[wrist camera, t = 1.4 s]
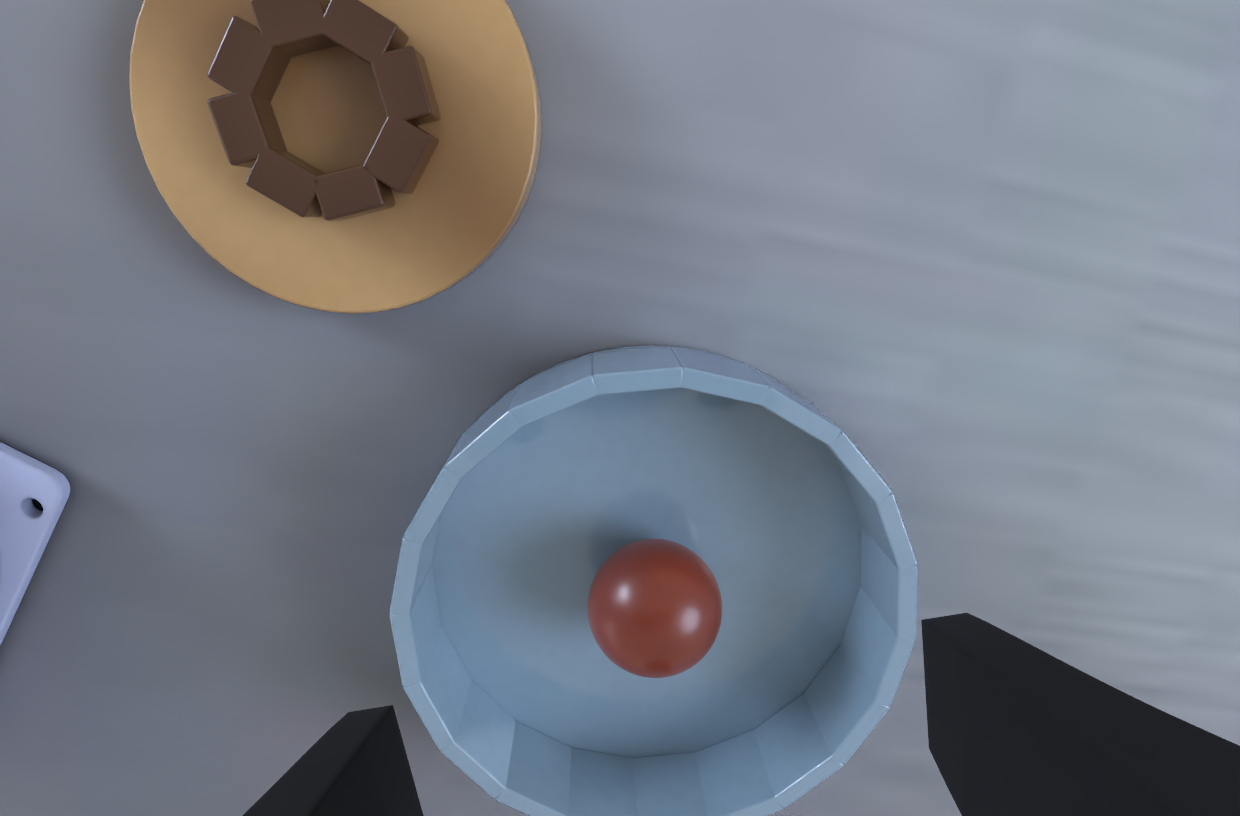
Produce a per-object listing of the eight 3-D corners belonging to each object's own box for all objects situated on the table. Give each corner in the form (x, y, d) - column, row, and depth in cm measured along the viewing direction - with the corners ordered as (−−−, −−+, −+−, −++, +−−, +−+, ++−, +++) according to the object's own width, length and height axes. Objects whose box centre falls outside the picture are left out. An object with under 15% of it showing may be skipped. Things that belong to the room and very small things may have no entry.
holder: (434, 371, 18) (412, 392, 16) (101, 185, 17) (29, 181, 15) (610, 52, 16) (613, 29, 14) (257, -183, 15) (203, -247, 13)
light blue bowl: (712, 817, 22) (731, 910, 19) (343, 639, 20) (301, 712, 17) (959, 490, 20) (1023, 539, 17) (566, 252, 18) (562, 260, 15)
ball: (668, 649, 20) (683, 730, 17) (564, 595, 19) (559, 668, 16) (734, 554, 19) (762, 620, 16) (628, 495, 19) (636, 552, 16)
